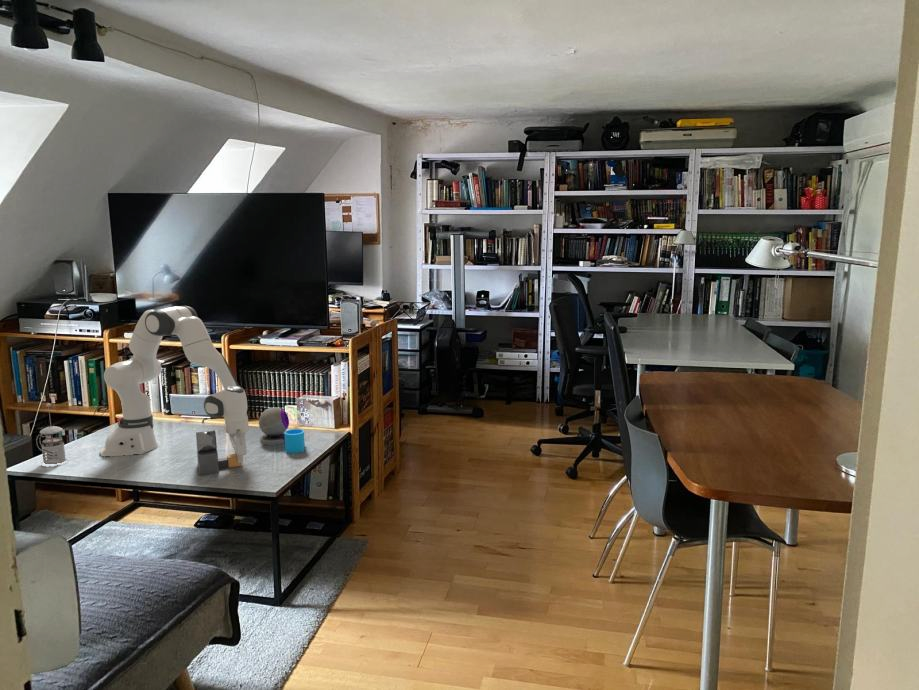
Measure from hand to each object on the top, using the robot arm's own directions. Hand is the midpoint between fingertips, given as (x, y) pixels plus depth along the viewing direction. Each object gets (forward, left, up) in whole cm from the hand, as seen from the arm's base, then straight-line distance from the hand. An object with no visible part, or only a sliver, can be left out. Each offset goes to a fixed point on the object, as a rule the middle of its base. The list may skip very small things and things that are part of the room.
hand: (239, 460), depth 276 cm
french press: (-69, +32, -2) cm, 77 cm away
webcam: (+18, +26, -2) cm, 32 cm away
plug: (-7, 0, -2) cm, 8 cm away
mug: (+25, +10, -2) cm, 27 cm away
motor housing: (-12, 0, -2) cm, 12 cm away
